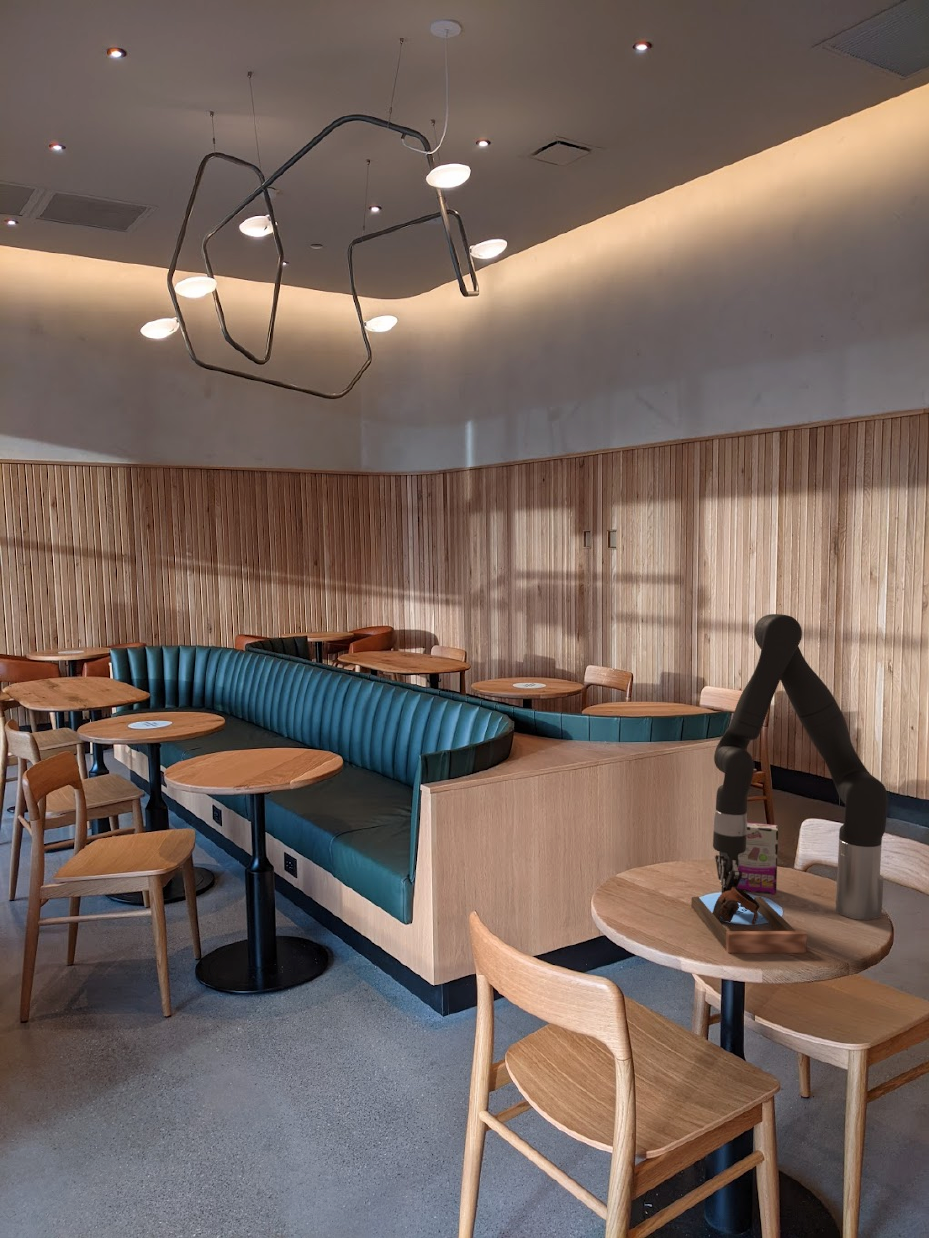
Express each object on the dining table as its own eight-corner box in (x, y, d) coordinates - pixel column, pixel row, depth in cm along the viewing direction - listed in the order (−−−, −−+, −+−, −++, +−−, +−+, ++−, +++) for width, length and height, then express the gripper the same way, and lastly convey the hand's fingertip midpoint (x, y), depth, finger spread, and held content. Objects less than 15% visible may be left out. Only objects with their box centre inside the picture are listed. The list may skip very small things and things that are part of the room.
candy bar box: (775, 888, 237) (778, 824, 236) (776, 895, 233) (779, 829, 232) (729, 883, 241) (732, 820, 240) (729, 889, 236) (731, 825, 235)
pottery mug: (714, 910, 223) (733, 881, 222) (748, 937, 218) (768, 908, 217) (700, 913, 212) (720, 883, 212) (736, 941, 208) (756, 911, 207)
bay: (760, 906, 225) (760, 890, 224) (805, 952, 199) (806, 933, 199) (691, 906, 224) (691, 890, 223) (728, 952, 198) (728, 934, 198)
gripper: (755, 838, 215) (751, 912, 216) (736, 822, 228) (733, 891, 230) (723, 838, 215) (719, 912, 216) (706, 821, 228) (702, 891, 229)
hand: (726, 901), depth 223 cm, fingers closed
